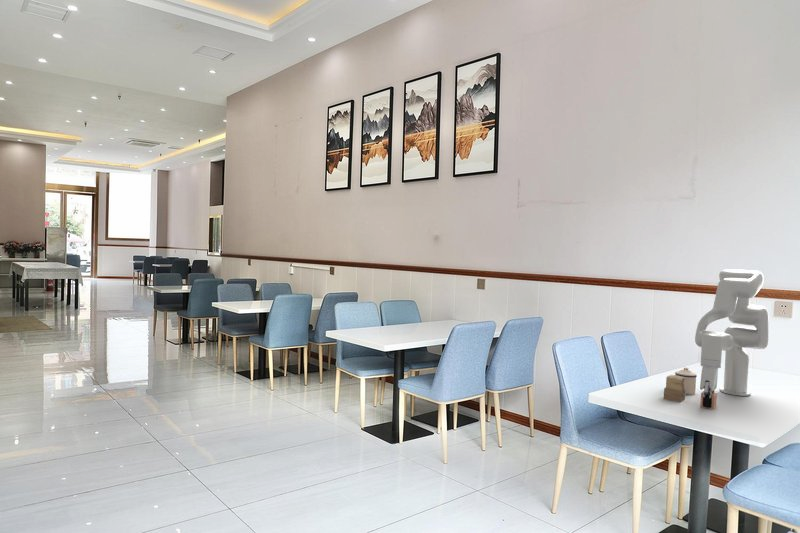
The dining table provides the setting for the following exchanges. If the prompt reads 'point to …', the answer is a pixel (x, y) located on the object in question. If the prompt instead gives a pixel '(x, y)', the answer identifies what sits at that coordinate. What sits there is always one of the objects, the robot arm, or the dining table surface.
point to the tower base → (674, 394)
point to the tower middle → (675, 382)
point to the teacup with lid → (688, 380)
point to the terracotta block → (714, 398)
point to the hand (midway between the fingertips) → (708, 405)
